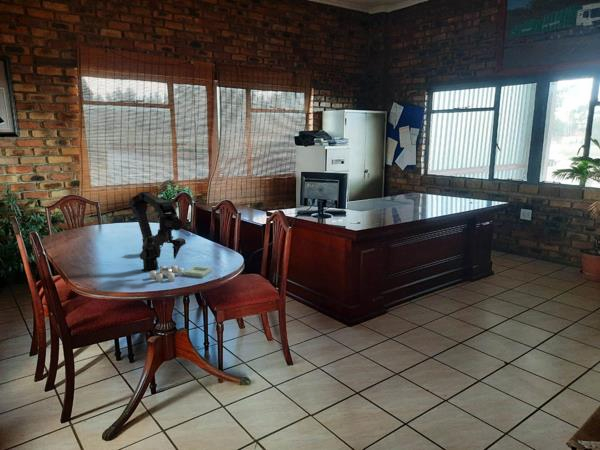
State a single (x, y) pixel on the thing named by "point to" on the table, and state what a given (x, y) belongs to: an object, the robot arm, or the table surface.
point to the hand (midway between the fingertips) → (166, 257)
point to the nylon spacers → (170, 275)
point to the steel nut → (166, 272)
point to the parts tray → (198, 272)
